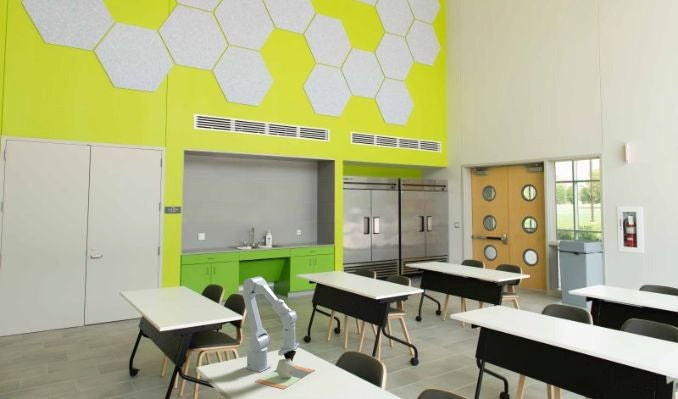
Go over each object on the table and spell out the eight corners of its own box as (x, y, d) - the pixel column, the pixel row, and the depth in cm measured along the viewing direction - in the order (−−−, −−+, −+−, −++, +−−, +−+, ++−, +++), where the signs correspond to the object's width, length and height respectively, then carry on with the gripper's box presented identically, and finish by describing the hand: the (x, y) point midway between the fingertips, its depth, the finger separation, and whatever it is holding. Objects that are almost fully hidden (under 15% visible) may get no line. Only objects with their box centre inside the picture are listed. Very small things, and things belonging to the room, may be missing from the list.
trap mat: (254, 381, 185) (254, 381, 185) (287, 364, 206) (287, 363, 206) (283, 389, 177) (283, 388, 177) (314, 370, 199) (314, 370, 199)
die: (289, 383, 184) (299, 362, 188) (272, 374, 184) (282, 353, 188) (288, 382, 191) (297, 362, 196) (271, 374, 191) (281, 354, 195)
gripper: (287, 342, 186) (286, 373, 185) (304, 334, 199) (304, 363, 198) (274, 340, 189) (274, 370, 189) (292, 332, 202) (292, 360, 201)
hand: (289, 366), depth 194 cm, fingers closed, pressing on die
